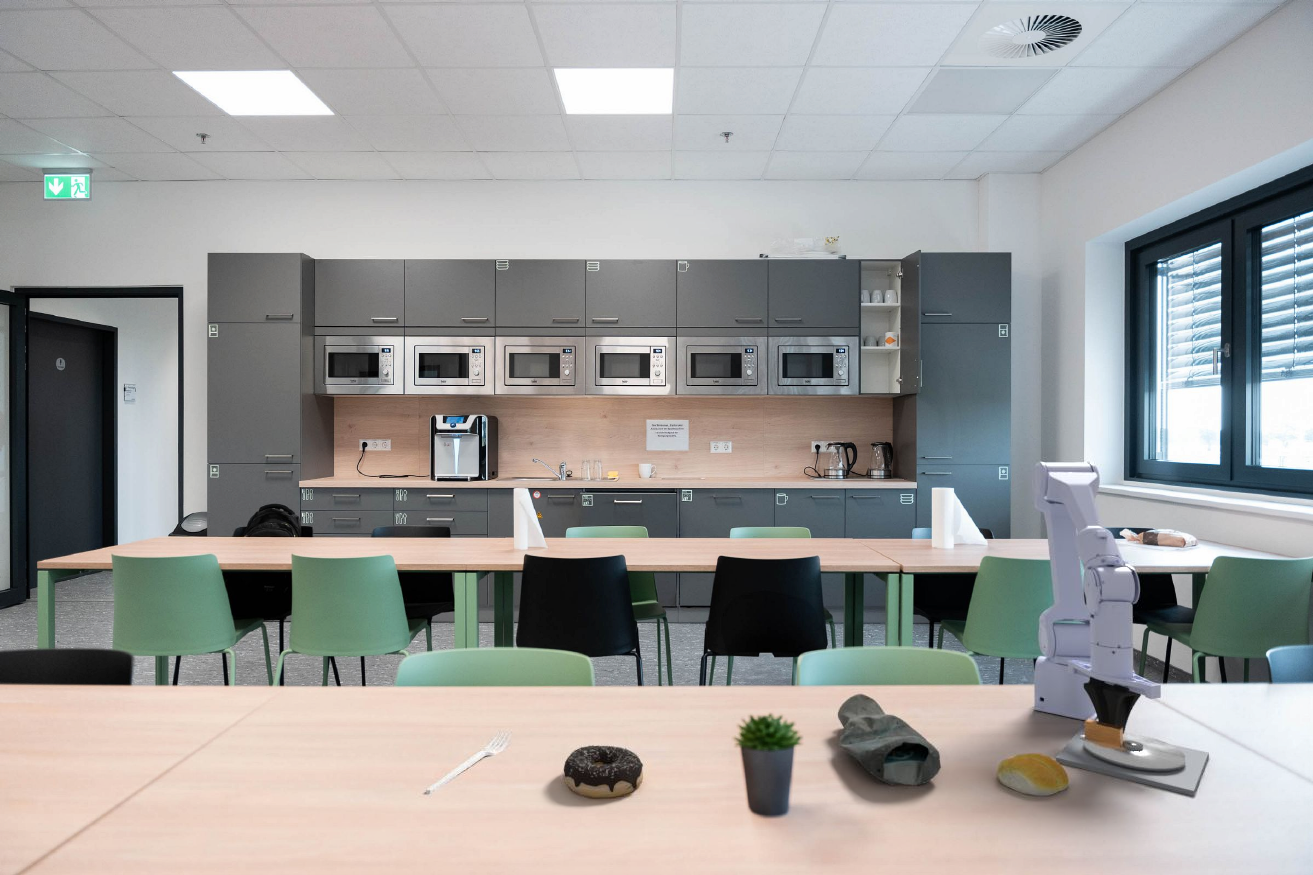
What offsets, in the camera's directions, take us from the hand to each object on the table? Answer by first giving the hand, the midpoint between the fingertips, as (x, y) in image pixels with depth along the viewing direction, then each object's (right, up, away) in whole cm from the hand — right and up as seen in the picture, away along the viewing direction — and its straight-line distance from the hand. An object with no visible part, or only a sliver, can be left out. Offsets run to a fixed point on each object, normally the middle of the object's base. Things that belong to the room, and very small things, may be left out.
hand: (1112, 731), depth 121 cm
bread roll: (-18, -3, -12) cm, 22 cm away
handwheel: (+1, -3, -4) cm, 5 cm away
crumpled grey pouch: (-37, -3, -2) cm, 37 cm away
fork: (-98, -3, -6) cm, 99 cm away
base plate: (+1, -3, -4) cm, 5 cm away
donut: (-78, -3, -11) cm, 79 cm away
